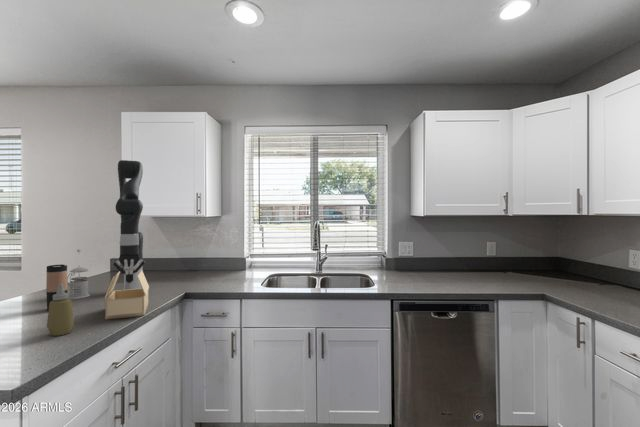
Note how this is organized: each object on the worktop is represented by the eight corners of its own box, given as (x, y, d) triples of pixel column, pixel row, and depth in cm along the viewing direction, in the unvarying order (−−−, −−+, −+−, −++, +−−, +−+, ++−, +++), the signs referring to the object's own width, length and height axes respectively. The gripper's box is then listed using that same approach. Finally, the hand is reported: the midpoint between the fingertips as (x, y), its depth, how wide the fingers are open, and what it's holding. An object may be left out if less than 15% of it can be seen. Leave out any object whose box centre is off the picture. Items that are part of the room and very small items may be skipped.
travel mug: (42, 312, 151) (42, 267, 151) (51, 307, 159) (51, 264, 159) (62, 310, 153) (62, 266, 153) (70, 306, 161) (70, 264, 161)
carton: (114, 306, 160) (114, 289, 160) (148, 303, 166) (148, 287, 166) (104, 321, 139) (104, 301, 139) (143, 317, 144) (143, 298, 144)
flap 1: (111, 290, 157) (119, 271, 158) (112, 290, 157) (120, 271, 158) (104, 298, 141) (112, 277, 142) (105, 298, 141) (113, 277, 143)
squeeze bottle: (79, 329, 129) (79, 282, 129) (64, 337, 121) (63, 286, 121) (57, 329, 128) (57, 282, 128) (40, 337, 120) (40, 287, 120)
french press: (78, 299, 174) (78, 250, 174) (59, 298, 176) (59, 250, 176) (94, 294, 184) (94, 248, 184) (76, 293, 186) (76, 248, 186)
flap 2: (148, 287, 163) (141, 270, 161) (149, 287, 163) (142, 270, 162) (144, 295, 147) (136, 276, 146) (145, 295, 147) (137, 276, 146)
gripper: (146, 242, 158) (146, 279, 158) (114, 243, 153) (114, 282, 153) (145, 244, 151) (145, 283, 151) (110, 245, 146) (110, 285, 146)
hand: (129, 282), depth 152 cm, fingers closed
